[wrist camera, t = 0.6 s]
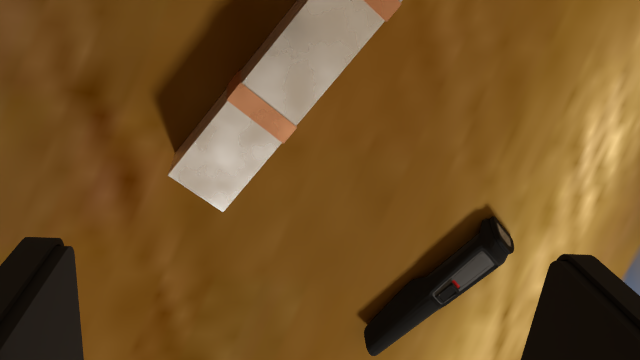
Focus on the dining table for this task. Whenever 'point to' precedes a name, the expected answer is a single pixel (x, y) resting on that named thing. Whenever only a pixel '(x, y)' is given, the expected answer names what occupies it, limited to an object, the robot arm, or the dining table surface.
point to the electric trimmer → (439, 286)
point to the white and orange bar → (274, 94)
